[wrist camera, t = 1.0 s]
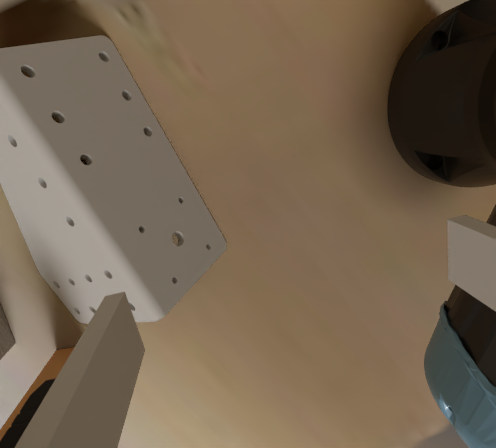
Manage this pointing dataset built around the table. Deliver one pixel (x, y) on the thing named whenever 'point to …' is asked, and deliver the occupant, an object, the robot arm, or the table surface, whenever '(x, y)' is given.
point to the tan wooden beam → (40, 382)
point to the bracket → (98, 181)
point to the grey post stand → (5, 335)
